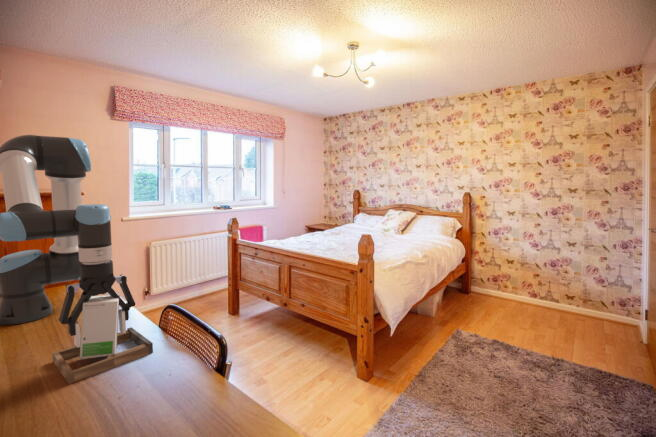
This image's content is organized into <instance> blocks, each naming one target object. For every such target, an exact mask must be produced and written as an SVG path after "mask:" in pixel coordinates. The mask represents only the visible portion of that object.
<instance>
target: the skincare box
mask: <svg viewBox="0 0 656 437" xmlns="http://www.w3.org/2000/svg"><path fill="white" fill-rule="evenodd" d="M117 295H118V296H119V297H120V298H121V295H119V294H117ZM119 309H120V305H119V298H113V297H112V296H110V294H109V295H108V294H106V295H105V294H100V295H96V296H91V298H90V299H89V300H88V302H85V303H83V310H82V312H81V330H80V343H81V347H80V355H79V360H85V359H93V358H100V357H101V358H102V357H108V356H109V355H114V354H116V352H117V345H118V344H117V333H118V332H119V331H118V328H119Z"/></svg>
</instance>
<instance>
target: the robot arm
mask: <svg viewBox="0 0 656 437" xmlns="http://www.w3.org/2000/svg"><path fill="white" fill-rule="evenodd" d="M35 171H44V176H45V177H46V178H48V179H49V180H50V187H51V188H50V189H51V203H52V204H51V205H52V206H51V207H52V210H44V207H43V203H42V199H41V194H40V189H39V186H38V181H37V178H36V172H35ZM91 171H92V161H91V156H90V151H89V149H88V146H87V144H86V142H85V141H84V140H82V139H79V138H72V137H66V136H65V137H64V136H49V135H48V136H47V135H36V134H24V135H22V134H21V135H17V136H15V137H12V138H10V139H8V140H7V141H5V142H4V143H3V144H1V146H0V175H1V183H2V189H3V190H2V191H3V198H4V203H5V204H4V205H5V212H0V240H1V241H2V242H24V241H35V240H45V239H53V240H54V241H53V242H54V243H53V244H51V245H50V246H49V250H48V251H49V252H44V253H43V251H42V250H41V249H28V250H27V249H26V250H23V251H17V252H12V253H9V254H6V255H4V256H2V257H1V258H0V325H5V326H6V325H7V326H9V325H11V326H12V325H21V324H26V323H29V322H33V321H36V320H40V319H43V318H45V317H47V316H49V315H51V314H52V313H53V304H52V303H51V301H50V298H49V297H48V295H47V294H46V292H45V286H47V285H52V284H58V283H59V284H60V283H65V282H71V281H78V280H79V282H78V283H74V284H70V283H69V284H66V286H65V291H66V294H65V298H64V301H63V304H62V307H61V311H60V314H59V318H58V321H59V323H60V324H61V325H67V326H68V327H67V328H68V334H69V335H70V336H71V337H73V343H74V346H76V347H77V348H78V347H81V330H80V322H79V321H78V318H79V317H80V315H82V311H83V303H85V302H88V300H89V299H90V298H91V296H100V295H105V294H106V295H107V293H108V294H109V295H110V296H112V297H113V298H119V315H118V328H119V331H120V332H122V333H126V330H127V327H126V324H127V323H126V321H129V317H130V316H129V315H130V314H129V313H130V312H129V311H130V309H131V308H133V307H135V306H136V301H135V300H134V297H133V295H132V293H131V291H130V288H129V286H128V283H127V281H128V280H127V276H126V275H124V274H119V275H117V276H116V275H114V261H113V260H112V259H113V245H112V228H111V225H112V224H111V219H112V215H111V212H110V207H109V205H107V204H100V203H99V204H98V203H97V204H96V203H94V204H93V203H92V204H91V203H90V204H89V203H88V204H87V203H86V204H83V202H82V200H83V199H82V181H83V180H84V179H85V178H86V177H87V174H86V173H88V172H91ZM115 282H116V283H117V284H119V287H120V289H121V292H122V293H123V296H124V299H125V300H126V302H125V301H124V300H123V299H122V298H121V296H120V297H119V296H118V295H119V294H118V293H117V292H116V291H115V290H114V289H113V287H112V286H114V284H115ZM79 289H81V290H82V292H81V294H80V297H79V299H78V301H77V302H76V304H75V306H74V308H73V309H72V306H73V302H74V299H75V293H78V290H79ZM71 310H72V311H71ZM70 312H71V313H70Z"/></svg>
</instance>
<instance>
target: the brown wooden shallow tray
mask: <svg viewBox="0 0 656 437" xmlns="http://www.w3.org/2000/svg"><path fill="white" fill-rule="evenodd" d="M128 341H132V343H134V344H135V345H136V346H134V347H130V348H129V349H126V350H122V351H120V352H119V351H118V352H117V353H116V352H115V354H114V355H109V356H106V358H105V359H102V360H99V361H96V362H93V363H90V364H88V365H85V366H82V367H79V368H76V369H72V368H71V367H70V365H69V364H68V363H67V361H66V360H68V359H70V358H75V357H77V356H80V347H78V348H77V347H76V346H75V345H73V346H70V347H67V348H64V349H61V350H60V349H59V350H58V351H57V350H56V351H54V352H52V354H51V355H52V362H53V364H54V365H55V366H56V368H57V370H58V371H59V372H60V374H61V375H62V377H63V378H64V380H65V381H66V382H67V383H68V385H69V384H70V385H71V384H73V383H75V382H78V381H81V380H83V379H86V378H89V377H91V376H94V375H96V374H99V373H103V372H105V371H107V370H111V369H113V368H115V367H119V366H121V365H124V364H127V363H128V362H133V361H135V360H137V359H140V358H142V357H145V356H147V355H150V354H153V353H154V348H153V347H154V346H153V342H152V341H151V340H149V339H148V338H146V337H145V336H144V335H142V334H141V333H140V332H139V331H137V330H136V329H134V328H133V327H132V326H131V327H126V333H122V332H121V331H120V332H119V331H118V332H117V345H118V344H122V343H124V342H128Z"/></svg>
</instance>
